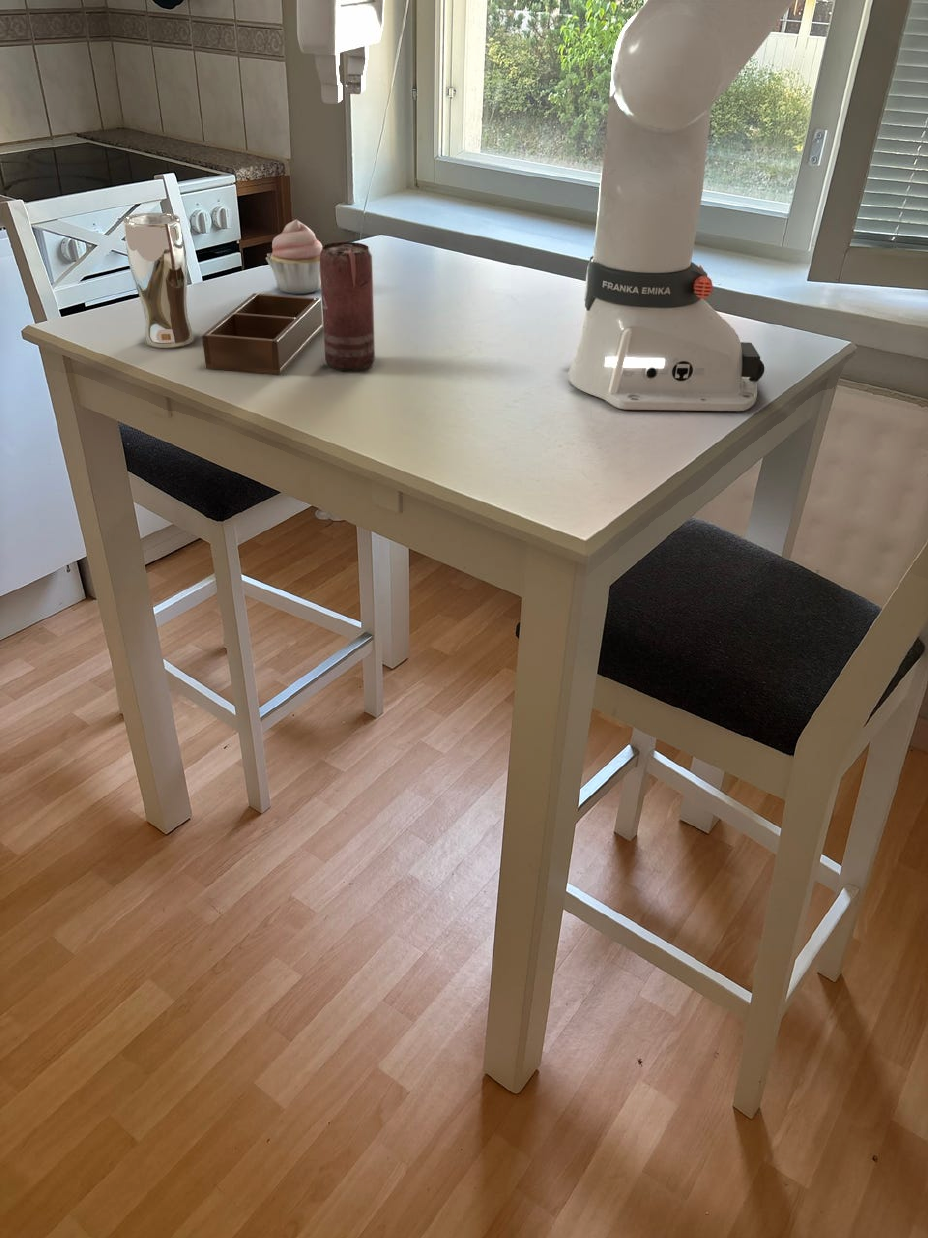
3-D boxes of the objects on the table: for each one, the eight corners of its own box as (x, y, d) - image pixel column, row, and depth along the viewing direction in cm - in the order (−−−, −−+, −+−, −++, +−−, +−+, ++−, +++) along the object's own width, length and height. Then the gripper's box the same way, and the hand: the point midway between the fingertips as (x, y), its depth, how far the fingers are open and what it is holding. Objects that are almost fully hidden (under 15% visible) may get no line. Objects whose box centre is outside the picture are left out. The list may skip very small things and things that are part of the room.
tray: (322, 328, 129) (320, 298, 127) (280, 374, 115) (277, 341, 112) (256, 323, 130) (253, 292, 128) (205, 368, 116) (201, 335, 113)
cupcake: (298, 301, 139) (293, 229, 133) (255, 288, 144) (249, 218, 138) (343, 288, 145) (340, 219, 140) (301, 276, 150) (296, 209, 144)
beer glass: (183, 351, 120) (165, 226, 112) (132, 346, 121) (110, 222, 113) (206, 334, 126) (190, 214, 117) (157, 330, 127) (138, 210, 118)
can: (339, 376, 115) (333, 255, 107) (318, 359, 119) (310, 243, 111) (384, 368, 117) (381, 250, 109) (362, 352, 122) (357, 237, 114)
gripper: (342, -62, 85) (347, 111, 93) (393, -57, 102) (394, 90, 110) (275, -65, 86) (285, 107, 94) (336, -60, 103) (340, 86, 110)
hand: (344, 98), depth 102 cm, fingers open, 8 cm apart
